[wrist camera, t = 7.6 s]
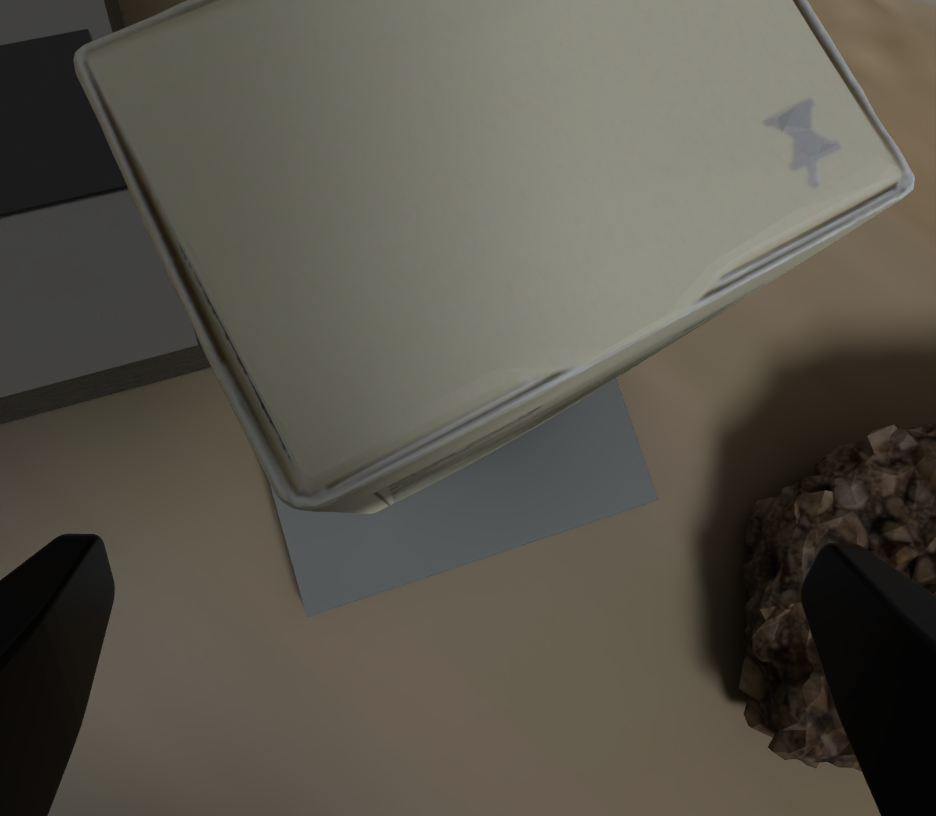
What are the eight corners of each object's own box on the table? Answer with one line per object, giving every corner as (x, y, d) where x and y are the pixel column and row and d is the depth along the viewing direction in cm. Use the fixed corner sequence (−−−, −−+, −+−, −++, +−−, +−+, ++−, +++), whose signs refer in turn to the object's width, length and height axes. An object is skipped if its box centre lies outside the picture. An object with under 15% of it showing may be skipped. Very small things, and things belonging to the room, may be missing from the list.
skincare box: (500, 258, 19) (715, -227, 7) (581, 405, 18) (966, 171, 6) (271, 368, 17) (32, 21, 5) (353, 527, 17) (289, 528, 5)
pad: (649, 500, 19) (658, 499, 18) (309, 614, 17) (306, 617, 17) (540, 186, 20) (545, 175, 19) (212, 267, 18) (206, 259, 18)
